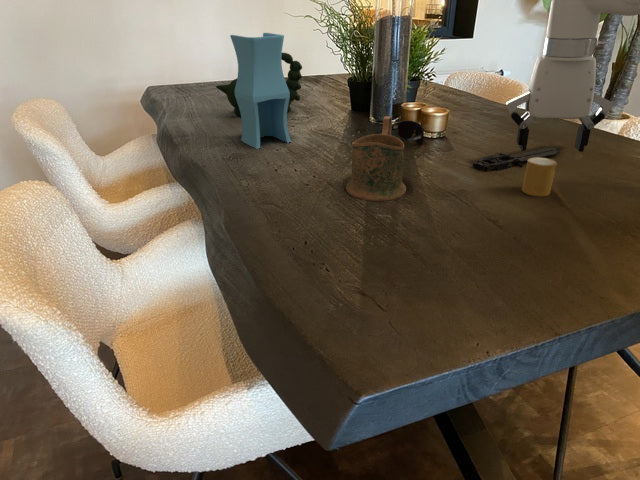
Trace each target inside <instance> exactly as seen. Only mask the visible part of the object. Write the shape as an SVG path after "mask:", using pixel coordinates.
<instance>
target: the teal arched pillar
mask: <svg viewBox="0 0 640 480" xmlns="http://www.w3.org/2000/svg"><path fill="white" fill-rule="evenodd" d="M229 37H230V39H231V42H232V45H233V48H234V50H235V51H234V52H235V55H236V56H235V57H236V61H237V83H236V87H235V97H236V100H237V103H238V106H239V110H240V113H241V116H240V118H241V142H242V141H243V142H242V143H244V144H246V145H247V146H250V147H252V148H253V147H254V149H255V148H256V149H255V150H260V149H261V138H264V136H273V137H274V138H275V137H276V138H275V139H277V138H278V140H280V141H282V142H284V141H285V142H284V143H286V142H287V143H286V144H290V143H289V142H291V143H292V140H291V137H290V132H289V128H288V112H287V109H288V104H289V99H290V92H289V89H288V87H287V84H286V81H287V80H286V79H285V76H284V73H283V72H284V71H283V64H282V61H283V60H281V58H282V53H283V46H284V40H285V35H284V34H279V33H272V32H263V33H262V36H242V35H237V34H230V35H229ZM259 148H260V149H259Z"/></svg>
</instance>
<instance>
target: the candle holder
mask: <svg viewBox="0 0 640 480" xmlns="http://www.w3.org/2000/svg"><path fill="white" fill-rule="evenodd" d="M557 164H558V162H557V161H556V160H554V159H552V158H547V157H534V158H529V159H528V160H527V163H526V167H525V172H524V177H523V182H522V186H521V191H522V192H523V193H524V194H526V195H528V196H532V197H547V196H549V195H550V194H551V190H552V186H553V182H554V178H555V174H556V169H557V166H558V165H557Z"/></svg>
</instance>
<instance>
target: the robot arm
mask: <svg viewBox="0 0 640 480" xmlns="http://www.w3.org/2000/svg"><path fill="white" fill-rule="evenodd" d="M601 14H608V15H614V16H615V15H616V16H624V17H633V16H639V15H640V0H551V2H550V7H549V14H548V15H549V16H548V21H547V26H546V27H547V28H546V35H545V41H544V47H543V53H542V56H538V57H537V58H536V60H535V63H534V66H533V69H532V72H531V76H530V80H529V85H528V88H527V92H524V93H523V94H521V95H518V96H516V97H514V98H511V99H510V100H508V101H506V102H505V107H506V109H507V111H508V114H509V116H510V118H511V119H512V121H513V122H515V124H516V125H517V126H518V129H517V136H516V145H517V146H518V147H519V149H520V150H521V151H522V152H525V151H527V146H528V140H529V134H530V129H529V125H531V124H532V123H533V122H534V121H535V120H536V119H541V120H542V119H543V120H544V119H545V120H579V121H580V123H581V124H580V125H579V126H578V127H577V130H576V131H577V132H576V136H575V142H574V149H576V150H577V151H578V152H580V153H583V152H584V150H585V147H587V146H588V145H589V141H590V135H591V132H592V131H591V130H593V129H594V128H595V127H596V126H597V125H598V124H600V123H601V122H602V121H603V120H604V119H605V117H606V115H608V113H609V112H610V111H611V110H612V108H613V107H614V103H613V102H612V101H610V100H608V99H606V98H605V97H603V96H601V95H599V94H597V93H595V89H596V76H597V58H596V57H595V56H594V55H595V52H597V51H600V50H602V51H603V49H604V47H605V41H604V40H599V39H598V37H597V34H598V30H599V25H600V19H601V16H602V15H601ZM593 103H595V104H597V105H599V109H598V110H597V111H596V112H595V113H593V114H591V111H592V107H593ZM523 104H525V105H524V108H525V113H524V114H523V115H521V116H520V114H519V113H518V110H517V107H519V106H521V105H523ZM590 114H591V115H590ZM589 115H590V116H589Z"/></svg>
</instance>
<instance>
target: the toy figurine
mask: <svg viewBox="0 0 640 480" xmlns="http://www.w3.org/2000/svg"><path fill="white" fill-rule="evenodd" d="M281 60H282V61H283V62H285V63H286V64H288V65H289V70H288V72H287V79H286V80H285V81H286V84H287V87H288V89H289V92H290V99H289V104H288V109H287V113H290V112H291V111H292V107H291V104H292V102H294V101H297V102H299V101H300V100H301V96H300V94H299V93H298V91H299V90H301V89H302V85H301V84H300V80H301V79H302V78H303V76H302V73H301V70H303V66H302V64H301V63H300V61H298V60H294V58H293V56H292V55H291V54H290V53H287V52H282V58H281ZM236 83H237V78H234V79H233V80H231V81H230V83H228V84H219V85H216V86H215V88H217V89H218V90H219V91H221V92H222V93H223V94H225V95H226V98H227V101H228V103H229V104H230V105H231V106H232V107H233V113H234V115H235V116H237V117H241V113H240V110H239V106H238V103H237V100H236V97H235V87H236Z"/></svg>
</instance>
